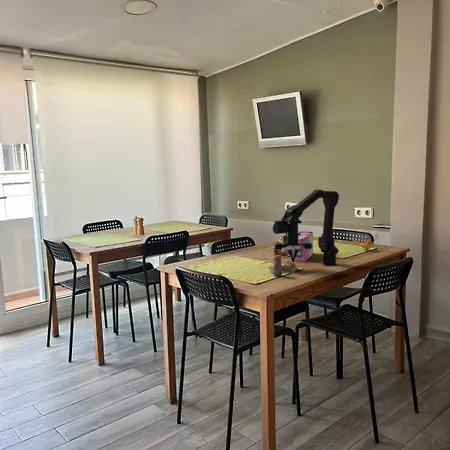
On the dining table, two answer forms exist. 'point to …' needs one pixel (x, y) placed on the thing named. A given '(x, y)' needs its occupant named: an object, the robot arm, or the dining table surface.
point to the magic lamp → (366, 244)
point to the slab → (288, 266)
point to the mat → (282, 271)
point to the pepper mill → (277, 266)
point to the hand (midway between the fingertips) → (292, 262)
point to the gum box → (304, 253)
